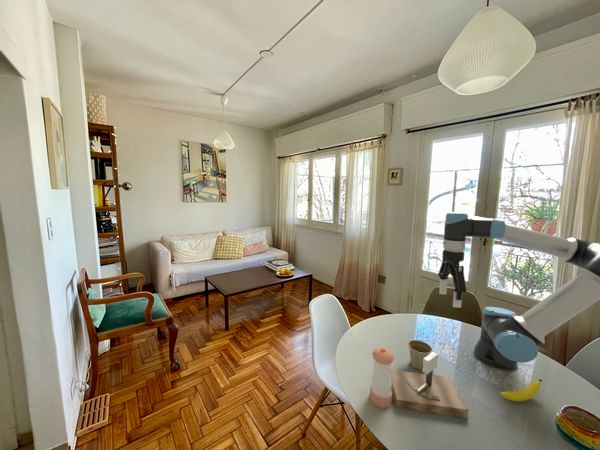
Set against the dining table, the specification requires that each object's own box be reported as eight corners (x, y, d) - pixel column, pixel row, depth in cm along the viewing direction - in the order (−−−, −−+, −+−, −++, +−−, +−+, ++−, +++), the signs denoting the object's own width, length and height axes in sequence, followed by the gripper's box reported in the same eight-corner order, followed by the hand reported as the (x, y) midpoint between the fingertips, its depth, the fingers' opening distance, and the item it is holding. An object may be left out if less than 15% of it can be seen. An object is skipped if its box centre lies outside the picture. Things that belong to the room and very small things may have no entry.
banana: (494, 402, 87) (496, 385, 86) (534, 392, 92) (536, 376, 91) (503, 409, 84) (505, 391, 83) (543, 398, 89) (546, 382, 88)
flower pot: (434, 374, 100) (435, 354, 99) (409, 371, 102) (410, 351, 101) (427, 359, 109) (428, 341, 108) (404, 356, 111) (405, 338, 110)
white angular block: (430, 378, 93) (432, 351, 92) (436, 381, 92) (438, 354, 91) (415, 391, 87) (417, 362, 86) (420, 394, 85) (422, 365, 84)
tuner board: (448, 384, 95) (449, 376, 95) (467, 418, 80) (468, 409, 80) (388, 376, 99) (388, 368, 98) (396, 407, 84) (397, 398, 83)
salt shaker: (377, 410, 83) (380, 356, 81) (365, 393, 90) (368, 343, 88) (395, 405, 85) (399, 353, 83) (383, 389, 92) (386, 340, 90)
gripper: (432, 244, 114) (429, 288, 116) (457, 256, 89) (452, 312, 92) (450, 244, 113) (446, 289, 115) (480, 257, 88) (475, 314, 90)
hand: (449, 300), depth 103 cm, fingers open, 13 cm apart
